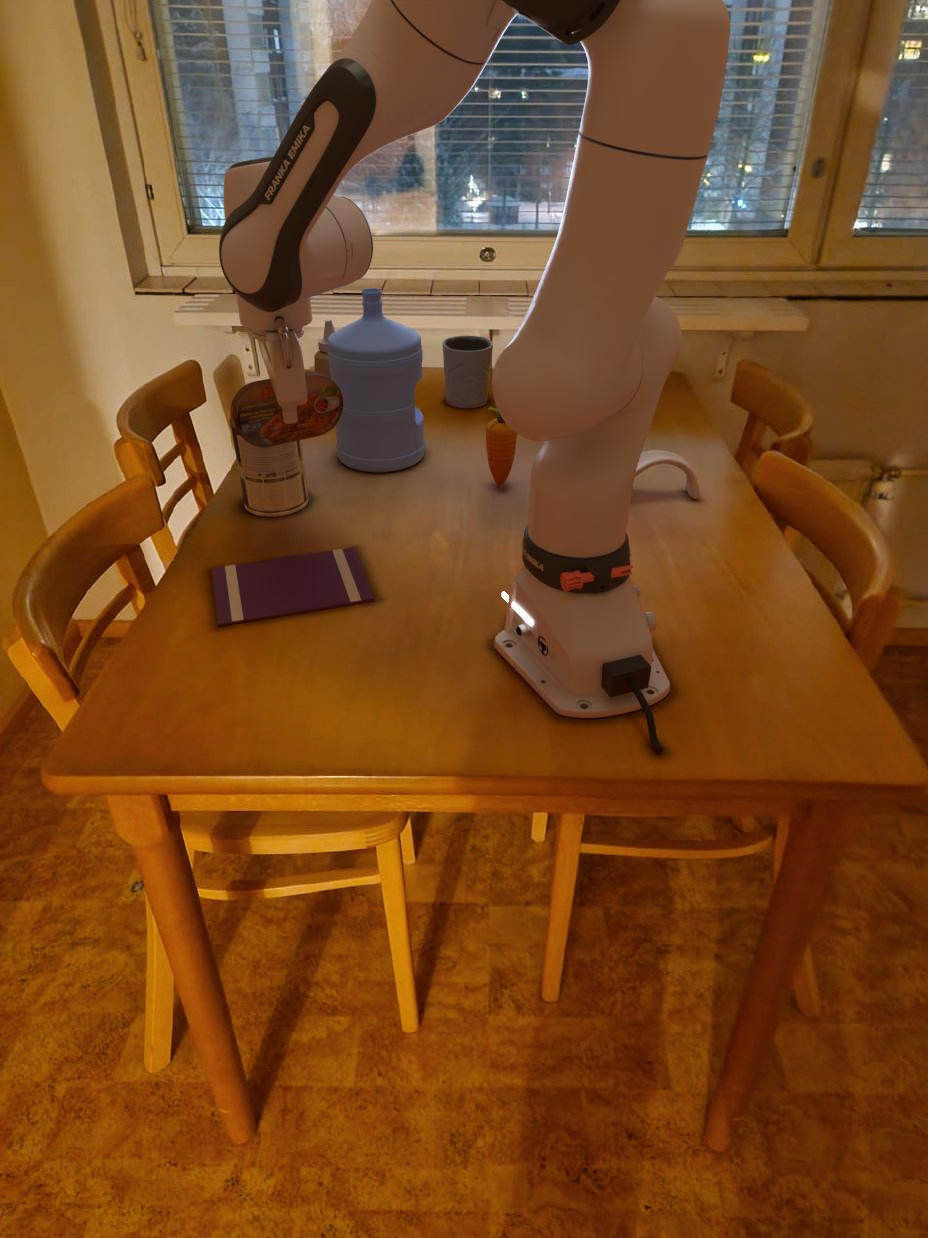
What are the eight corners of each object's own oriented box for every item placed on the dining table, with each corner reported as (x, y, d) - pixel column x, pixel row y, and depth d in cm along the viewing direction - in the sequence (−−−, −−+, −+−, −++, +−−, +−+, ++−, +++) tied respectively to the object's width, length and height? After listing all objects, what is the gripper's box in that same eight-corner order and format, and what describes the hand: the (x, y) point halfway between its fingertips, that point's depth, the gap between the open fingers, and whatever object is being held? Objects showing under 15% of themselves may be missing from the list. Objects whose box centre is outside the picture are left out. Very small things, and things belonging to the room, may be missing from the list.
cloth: (374, 600, 106) (374, 597, 106) (218, 626, 101) (217, 623, 101) (354, 549, 117) (354, 546, 117) (212, 570, 112) (211, 567, 112)
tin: (240, 453, 105) (231, 391, 100) (232, 443, 107) (223, 382, 102) (346, 431, 112) (342, 371, 106) (336, 422, 114) (333, 363, 109)
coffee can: (231, 502, 129) (215, 417, 121) (285, 482, 135) (274, 400, 127) (267, 523, 123) (253, 436, 115) (322, 502, 129) (313, 417, 121)
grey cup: (461, 389, 173) (462, 332, 166) (501, 399, 168) (503, 340, 161) (433, 403, 166) (431, 343, 159) (473, 413, 161) (473, 353, 154)
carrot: (512, 494, 132) (515, 405, 123) (482, 491, 132) (483, 402, 124) (516, 481, 136) (520, 394, 127) (487, 478, 136) (489, 391, 128)
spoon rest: (555, 513, 126) (558, 471, 122) (545, 481, 136) (547, 440, 132) (704, 510, 127) (712, 468, 123) (684, 478, 137) (691, 438, 133)
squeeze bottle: (365, 411, 162) (359, 318, 152) (339, 423, 157) (331, 328, 146) (334, 403, 166) (325, 312, 156) (307, 415, 160) (297, 322, 150)
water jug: (371, 482, 135) (359, 308, 119) (320, 454, 145) (302, 289, 129) (443, 457, 144) (440, 291, 128) (390, 432, 153) (381, 275, 137)
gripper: (313, 328, 92) (324, 442, 100) (290, 286, 108) (301, 388, 116) (256, 332, 91) (272, 448, 99) (242, 290, 107) (257, 392, 115)
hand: (288, 415), depth 107 cm, fingers closed on tin, 3 cm apart
